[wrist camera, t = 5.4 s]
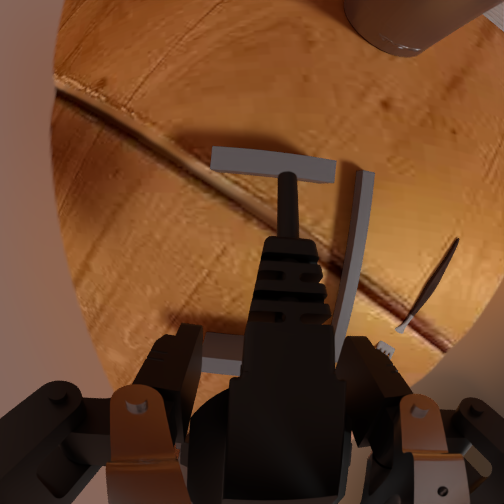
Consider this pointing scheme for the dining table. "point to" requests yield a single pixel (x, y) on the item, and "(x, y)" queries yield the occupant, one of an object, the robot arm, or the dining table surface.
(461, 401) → the robot arm
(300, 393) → the power plug
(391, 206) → the dining table surface
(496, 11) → the stack of papers
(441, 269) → the fork
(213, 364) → the plug holster
